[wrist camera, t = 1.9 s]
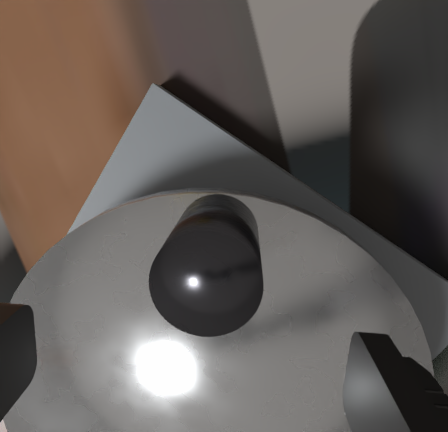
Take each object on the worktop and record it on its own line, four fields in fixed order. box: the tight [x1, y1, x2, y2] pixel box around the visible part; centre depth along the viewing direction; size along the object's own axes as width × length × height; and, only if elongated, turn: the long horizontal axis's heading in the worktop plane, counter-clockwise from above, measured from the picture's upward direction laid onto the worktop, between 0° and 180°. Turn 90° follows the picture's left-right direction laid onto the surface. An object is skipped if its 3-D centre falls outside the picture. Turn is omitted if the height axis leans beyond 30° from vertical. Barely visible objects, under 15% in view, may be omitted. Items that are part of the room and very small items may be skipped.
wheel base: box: [67, 83, 448, 361], centre depth 26 cm, size 26×26×6 cm
